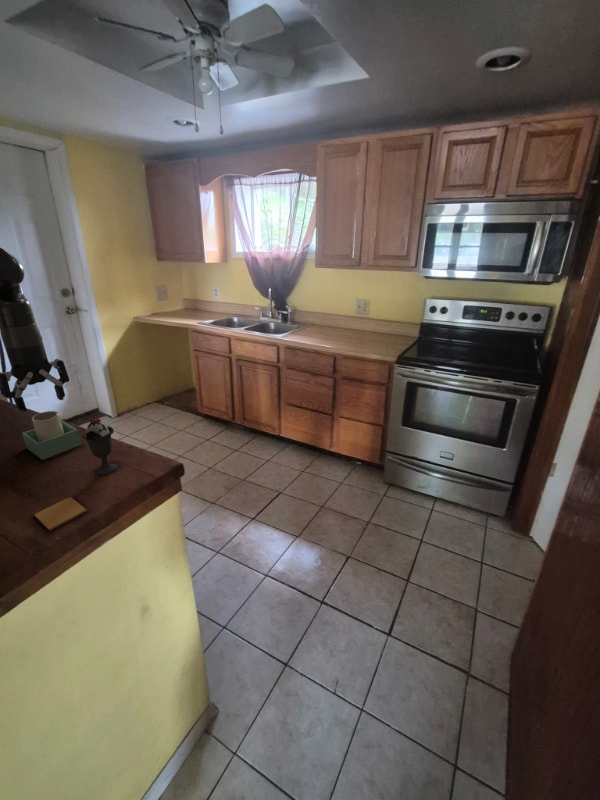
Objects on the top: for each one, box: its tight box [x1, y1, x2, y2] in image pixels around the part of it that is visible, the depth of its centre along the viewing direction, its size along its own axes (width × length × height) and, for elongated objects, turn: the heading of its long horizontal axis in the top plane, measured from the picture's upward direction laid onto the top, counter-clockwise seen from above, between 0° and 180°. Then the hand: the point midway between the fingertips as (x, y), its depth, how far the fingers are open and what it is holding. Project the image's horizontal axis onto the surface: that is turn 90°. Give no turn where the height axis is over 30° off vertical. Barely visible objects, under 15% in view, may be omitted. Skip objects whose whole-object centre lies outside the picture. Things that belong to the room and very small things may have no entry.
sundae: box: [81, 409, 118, 476], centre depth 87 cm, size 7×7×15 cm
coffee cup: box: [31, 410, 65, 443], centre depth 97 cm, size 6×6×9 cm
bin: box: [21, 419, 82, 461], centre depth 98 cm, size 10×10×5 cm
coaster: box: [33, 496, 88, 532], centre depth 75 cm, size 7×7×1 cm
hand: (42, 404), depth 94 cm, fingers open, 8 cm apart
